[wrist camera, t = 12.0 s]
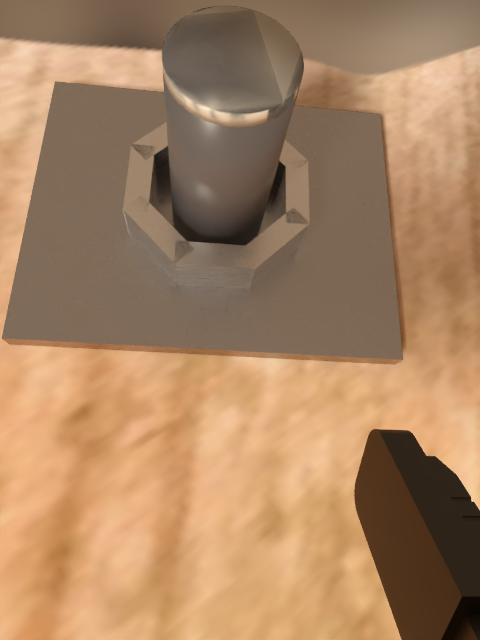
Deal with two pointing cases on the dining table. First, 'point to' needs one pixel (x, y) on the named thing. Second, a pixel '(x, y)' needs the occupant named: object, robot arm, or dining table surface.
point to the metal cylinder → (226, 118)
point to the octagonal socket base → (204, 258)
